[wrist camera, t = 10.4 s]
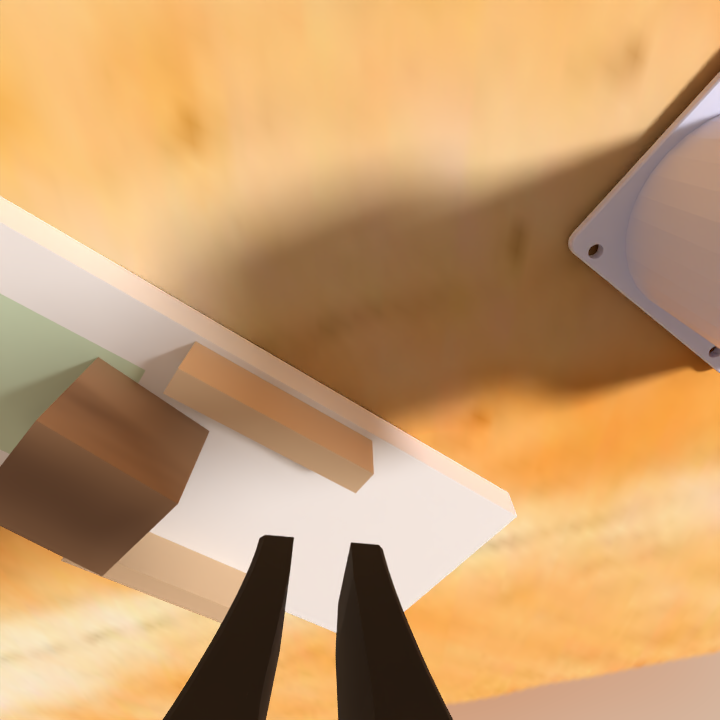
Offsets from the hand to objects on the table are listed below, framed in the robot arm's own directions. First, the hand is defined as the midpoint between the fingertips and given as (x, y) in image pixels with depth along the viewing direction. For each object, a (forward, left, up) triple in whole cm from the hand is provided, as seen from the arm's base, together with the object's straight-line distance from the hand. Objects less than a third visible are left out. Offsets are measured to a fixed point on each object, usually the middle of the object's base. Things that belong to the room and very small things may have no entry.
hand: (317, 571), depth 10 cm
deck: (+5, +8, -10) cm, 14 cm away
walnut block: (+5, +7, -9) cm, 13 cm away
